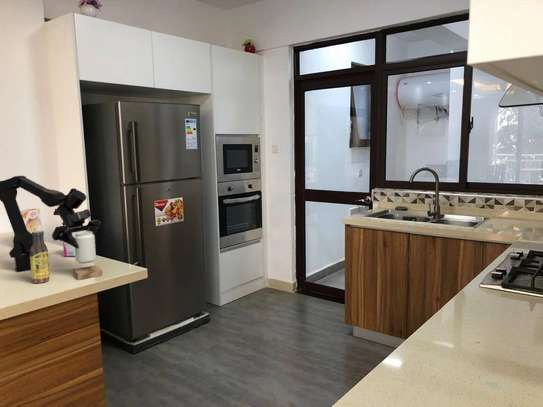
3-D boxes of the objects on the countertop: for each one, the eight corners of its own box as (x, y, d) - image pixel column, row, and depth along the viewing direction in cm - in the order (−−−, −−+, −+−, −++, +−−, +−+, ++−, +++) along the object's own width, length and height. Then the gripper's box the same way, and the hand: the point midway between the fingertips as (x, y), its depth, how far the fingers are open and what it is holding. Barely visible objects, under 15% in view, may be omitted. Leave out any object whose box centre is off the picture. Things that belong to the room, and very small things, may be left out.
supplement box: (81, 254, 208) (79, 231, 206) (75, 257, 202) (73, 233, 201) (70, 254, 209) (68, 231, 207) (63, 257, 203) (61, 233, 201)
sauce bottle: (37, 285, 160) (32, 233, 158) (28, 282, 163) (23, 232, 161) (54, 280, 166) (49, 230, 163) (45, 278, 169) (40, 229, 166)
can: (71, 263, 167) (69, 234, 166) (83, 258, 175) (81, 230, 173) (89, 264, 166) (86, 234, 164) (99, 259, 173) (97, 230, 172)
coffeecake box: (28, 248, 223) (24, 212, 221) (15, 248, 224) (11, 212, 221) (43, 242, 238) (40, 208, 236) (31, 242, 238) (27, 208, 236)
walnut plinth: (78, 280, 165) (78, 274, 164) (73, 275, 172) (72, 269, 172) (102, 275, 170) (101, 269, 170) (96, 270, 177) (95, 265, 177)
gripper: (53, 206, 162) (72, 237, 157) (96, 201, 177) (115, 229, 173) (43, 224, 167) (62, 255, 162) (86, 218, 182) (104, 245, 178)
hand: (87, 245), depth 169 cm, fingers closed on can, 7 cm apart
